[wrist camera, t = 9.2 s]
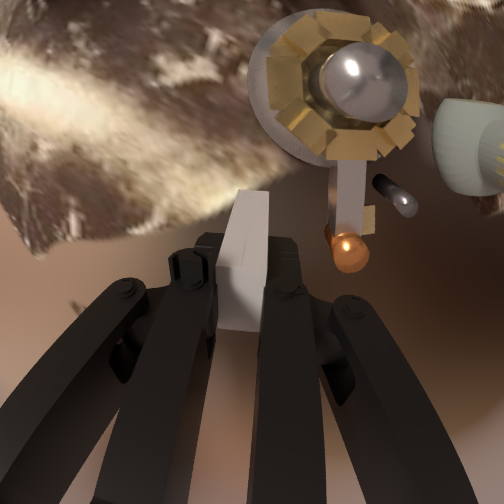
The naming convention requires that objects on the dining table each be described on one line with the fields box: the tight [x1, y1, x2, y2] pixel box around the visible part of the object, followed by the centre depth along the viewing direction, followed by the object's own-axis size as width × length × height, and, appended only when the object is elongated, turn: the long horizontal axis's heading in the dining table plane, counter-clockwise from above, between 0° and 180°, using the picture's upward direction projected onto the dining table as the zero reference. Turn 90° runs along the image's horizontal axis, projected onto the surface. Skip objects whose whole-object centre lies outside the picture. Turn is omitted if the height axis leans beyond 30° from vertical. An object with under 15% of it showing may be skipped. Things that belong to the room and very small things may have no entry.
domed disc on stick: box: [265, 11, 419, 273], centre depth 17 cm, size 20×11×4 cm, turn 5°
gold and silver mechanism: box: [247, 9, 418, 235], centre depth 17 cm, size 14×21×8 cm, turn 11°
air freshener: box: [432, 98, 504, 196], centre depth 15 cm, size 11×8×10 cm
